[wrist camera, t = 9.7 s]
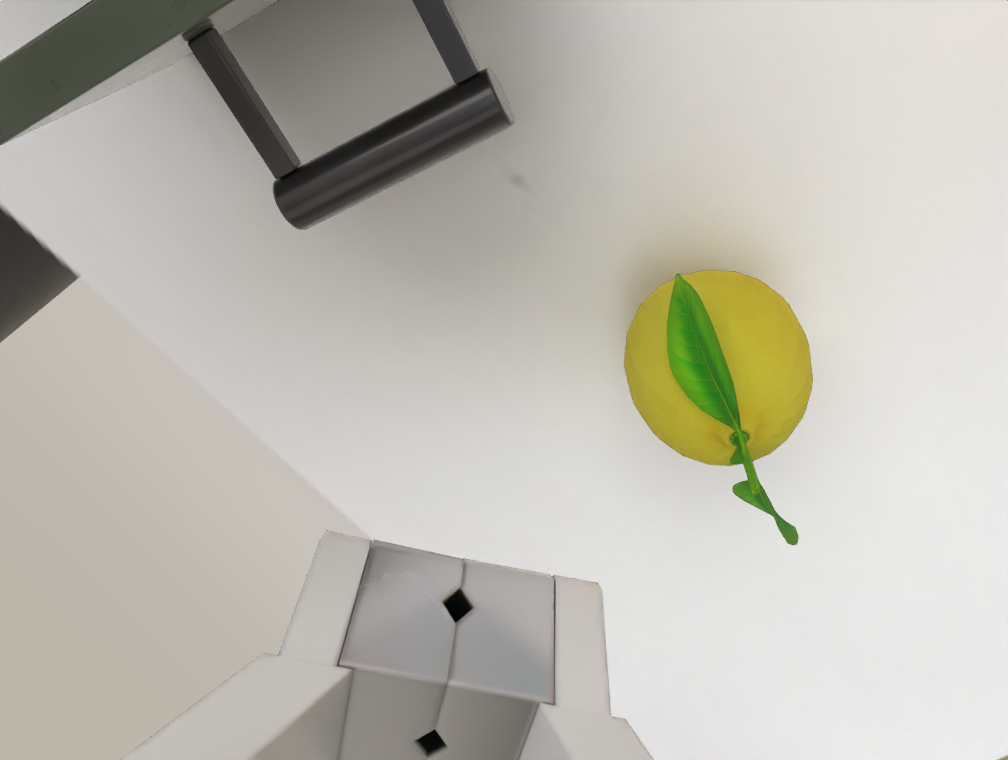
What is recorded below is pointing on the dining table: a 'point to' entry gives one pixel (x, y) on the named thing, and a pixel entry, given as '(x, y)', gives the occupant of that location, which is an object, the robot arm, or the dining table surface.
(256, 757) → the robot arm
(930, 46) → the dining table surface
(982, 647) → the dining table surface
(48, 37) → the drawer
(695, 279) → the lemon
